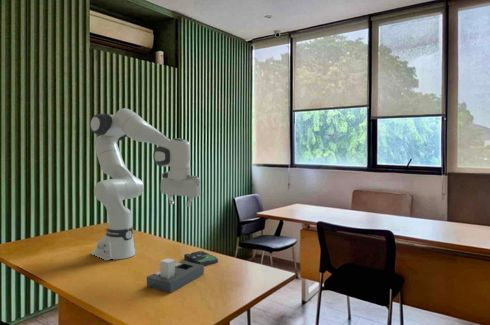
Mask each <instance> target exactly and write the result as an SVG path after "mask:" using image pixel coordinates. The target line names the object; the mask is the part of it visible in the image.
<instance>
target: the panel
mask: <svg viewBox="0 0 490 325" xmlns="http://www.w3.org/2000/svg"><path fill="white" fill-rule="evenodd" d="M204 269H205V266H204V265H200V264H196V263H191V262H190V261H187V260H179V261H177V262H175V276H173V277H171V278H169V279H167V278H163V277H160V270H158V271H156V272H154V273H152V274H150V275H148V276H146V287H147V288H150V289H154V290H157V291H161V292H165V293H168V294H171V293H173V292H175V291H177V290H178V289H180V288H182V287H184V286H186V285H188V284H189V283H191V282H193V281H195V280H197V279H199V277H201V276H203V275H204V274H205V270H204Z"/></svg>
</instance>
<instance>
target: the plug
mask: <svg viewBox="0 0 490 325" xmlns="http://www.w3.org/2000/svg"><path fill="white" fill-rule="evenodd" d="M175 260H176V259H172V258H165V259H162V260H160V261H159V262H160V265H159V266H160V270H159V271H160V277H163V278H167V279H169V278H171V277H173V276H175V263H176V261H175Z"/></svg>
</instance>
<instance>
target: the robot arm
mask: <svg viewBox="0 0 490 325" xmlns="http://www.w3.org/2000/svg"><path fill="white" fill-rule="evenodd" d="M89 128H90V131H91V132H92V133H93V134H95V135H97V137H96V138H95V140H94V145H95V152H96V156H97V159H98V163H99V165H100V169H101V171H102V172H103V174H104V175H107V176H109V177H110V178H108V179H104V180H100V181H98V182H97V183H96V184H95V186H94V189H93V192H94V194H93V195H94V196H95V198H96V199H97V201H99V202H101V203H102V205H103V206H104V207H105V209H106V212H107V222H108V223H107V224H108V227H107V228H106V229H104V231H105V232H106V233H105V235H104V236H103V237H102V238H100V239H99V240H98V241H97V243H96V249H95V250H93V251H91V253H90V254H91V256H94V255H95V257H96V256H97V258H99V257H100V258H99V259H101V258H102V260H103V259H104V260H103V261H110V259H113V260H125V259H129V258H131V257H133V256H135V255H136V248H135V243H134V236H133V233H134V229H133V228H134V227H133V219H132V218H133V214H132V211H131V209H129V208H128V207H126V206H124V202H123V201H125V200H129V199H130V200H131V199H135V198H137V197H140V196H141V195H142V194H143V192H144V188H145V187H144V183H143V181H142V180H141V179H140V178H138V177H137V176H135V175H134V174H133V173H132V172H131V171H130V170H129V169H128V167H127V166H126V164H125V162H124V160H123V156H122V154H121V151H120V148H119V145H118V141H124V139H125V138H130V139H131V140H133V141H135V142H138V143H139V142H141V143H147V144H152V145H155V146H157V147H155V148H154V151H153V154H152V156H153V157H152V158H153V162H154V163H155V164H156V165H157V166H158V167H170V169H169V171H165V172H163V173H161V174H160V175H161V176H160V177H161V180H160V193H161V194H162V195H167V198H168V201H169V205H175V200H174V199H173V197H174V196H179V197H180V196H181V197H187V199H188V201H187V202H185V204H186V205H185V206H186V207H188V208H189V207H190V208H191V207H192V202H193V200H194V198H198V197H200V195H201V194H202V191H201V183H200V180H201V179H200V178H199V177H198V176H197V175H191V164H190V162H191V144H190V142H189V141H188V140H187V139H186V138H179V137H178V138H177V137H174V138H169V137H168V136H167V135H166V134H164V133H162V132H161V131H160V130H158V129H157V128H155V127H154V126H153V125H151V124H150V123H148V122H147V121H146V120H145V119H143V118H142V117H141V116H140V115H139V114H138V113H136V112H135V111H133V110H131V109H129V108H127V107H126V108H125V107H124V108H123V107H122V108H120V109H119V110H117V111H116V113H115V114H109V113H98V114H95V115H93V116H92V117H91V119H90V122H89Z"/></svg>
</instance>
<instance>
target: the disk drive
mask: <svg viewBox="0 0 490 325" xmlns="http://www.w3.org/2000/svg"><path fill="white" fill-rule="evenodd" d="M184 260H185V261H187V262H191V263H196V264H200V265H204V267H206V266H210V265H213V264H218V263H219V259H218V257H217V256H214V255H212V254H210V253H207V252H205V251H202V250H198V251H194V252H190V253H186V254H184Z"/></svg>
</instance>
